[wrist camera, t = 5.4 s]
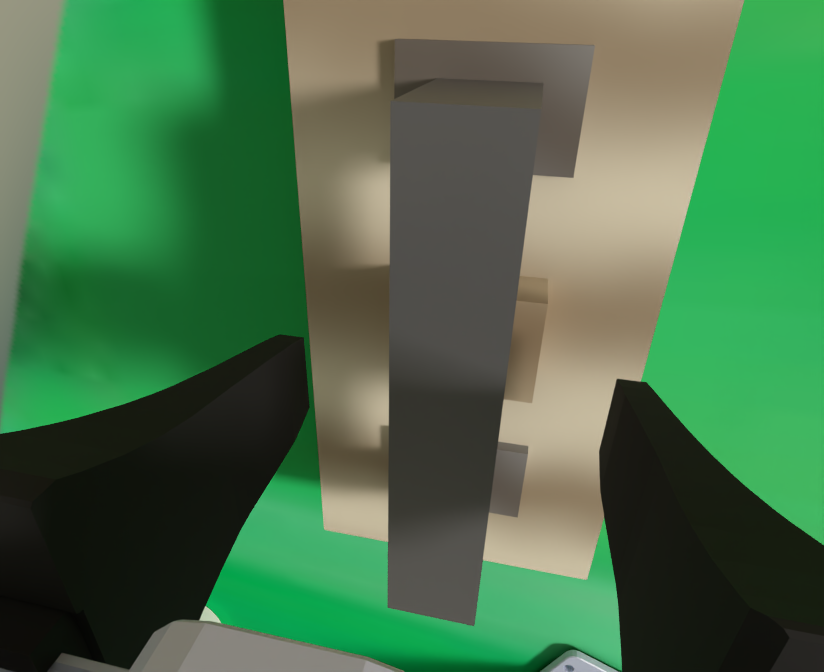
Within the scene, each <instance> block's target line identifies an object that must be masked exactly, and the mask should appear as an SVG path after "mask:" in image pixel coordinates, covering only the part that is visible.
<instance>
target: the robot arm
mask: <svg viewBox="0 0 824 672" xmlns="http://www.w3.org/2000/svg"><path fill="white" fill-rule="evenodd" d="M308 409H309V397H308V385H307V373H306V361H305V349H304V338H302V337H295V336H287V335H277V336H275V337H272V338H270V339H268V340H266V341H264V342H262V343H260V344H258V345H256V346H254V347H252V348H250V349H248V350H246V351H244V352H242V353H240V354H238V355H236V356H234V357H232V358H230V359H228V360H226V361H225V362H223V363H221V364H219V365H217V366H215V367H213V368H211V369H209V370H206V371H204V372H202V373H200V374H198V375H195V376H193V377H191V378H189V379H187V380H185V381H182V382H180V383H178V384H176V385H174V386H171V387H169V388H167V389H164V390H162V391H159V392H157V393H154V394H151V395H149V396H146V397H143V398H140V399H138V400H135V401H132V402H129V403H126V404H123V405H120V406H117V407H113V408H110V409H106V410H103V411H100V412H96V413H93V414H89V415H86V416H83V417H79V418H75V419H71V420H67V421H63V422H58V423H54V424H50V425H45V426H40V427H36V428H31V429H26V430H21V431H15V432H10V433H3V434H0V672H404V671H403V670H400V669H397V668H395V667H392V666H390V665H387V664H385V663H382V662H380V661H377V660H374V659H372V658H369V657H366V656H361V655H357V654H352V653H348V652H344V651H339V650H335V649H331V648H326V647H322V646H318V645H313V644H309V643H304V642H300V641H296V640H291V639H287V638H283V637H278V636H274V635H270V634H265V633H261V632H256V631H252V630H248V629H243V628H239V627H235V626H230V625H226V624H222V623H217V622H213V621H201V620H200V617H201V615H202V613H203V610H204V608H205V606H206V603H207V601H208V599H209V597H210V594H211V592H212V590H213V588H214V585H215V583H216V581H217V579H218V577H219V574H220V572H221V570H222V568H223V566H224V563H225V561H226V559H227V557H228V555H229V553H230V551H231V549H232V547H233V545H234V543H235V541H236V539H237V536H238V534H239V532H240V530H241V528H242V527H243V525H244V523H245V521H246V520H247V518H248V516H249V514H250V513H251V511H252V509H253V508H254V506H255V505H256V503H257V501H258V500H259V498H260V497H261V495H262V493H263V492H264V490H265V489H266V487H267V485H268V484H269V482H270V481H271V479H272V477H273V476H274V474H275V473H276V471H277V469H278V468H279V466H280V465H281V463H282V461H283V460H284V458H285V456H286V455H287V453H288V452H289V450H290V448H291V447H292V445H293V443H294V441H295V439H296V437H297V435H298V433H299V431H300V428H301V426H302V424H303V421H304V419H305V416H306V414H307V412H308ZM599 472H600V493H601V499H602V506H603V512H604V518H605V524H606V529H607V535H608V541H609V547H610V553H611V558H612V564H613V570H614V576H615V582H616V589H617V597H618V606H619V622H620V638H621V656H622V672H824V545H822V544H821V543H819V542H818V541H817V540H815V539H814V538H812V537H811V536H809V535H808V534H807V533H805V532H804V531H802V530H801V529H800V528H798V527H797V526H795V525H794V524H792V523H791V522H790V521H788V520H787V519H786V518H784V517H783V516H782V515H780V514H779V513H778V512H776V511H775V510H774V509H773V508H771V507H770V506H769V505H768V504H766V503H765V502H764V501H763V500H762V499H760V498H759V497H758V496H757V495H755V494H754V493H753V492H752V491H751V490H749V489H748V488H747V487H746V486H745V485H743V484H742V483H741V482H740V481H739V480H738V479H737V478H736V477H734V476H733V475H732V474H731V473H730V472H729V471H728V470H727V469H726V468H725V467H724V466H723V465H722V464H721V463H720V462H719V461H718V460H717V459H716V458H714V457H713V456H712V455H711V454H710V453H709V452H708V451H707V450H706V449H705V447H704V446H703V445H702V444H701V443H700V442H699V441H698V440H697V439H696V438H695V437H694V436H693V435H692V434H691V433H690V432H689V431H688V429H687V428H686V427H685V426H684V425H683V424H682V423H681V422H680V420H679V419H678V418H677V417H676V416H675V415H674V414H673V412H672V411H671V410H670V409H669V408H668V407H667V406H666V404H665V403H664V402H663V401H662V400H661V398H660V397H659V396H658V395H657V394H656V393H655V391H654V390H653V389H652V388H651V387H650V386H649V385H648V384H647V382H640V381H632V380H624V379H617V380H616V384H615V388H614V392H613V396H612V401H611V405H610V409H609V413H608V417H607V421H606V425H605V429H604V433H603V437H602V441H601V445H600V449H599ZM540 672H618V671H616V670H614V669H613V668H611V667H609V666H607V665H605V664H603V663H601V662H599V661H597V660H595V659H593V658H591V657H590V656H588V655H586V654H584V653H582V652H580V651H577V650H568V651H566V652H565V653H564V654H562V655H561V656H560V657H558V658H557V659H556V660H554V661H553V662H552V663H551V664H549V665H548V666H547V667H545V668H544V669H543V670H541V671H540Z"/></svg>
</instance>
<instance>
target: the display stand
mask: <svg viewBox="0 0 824 672" xmlns="http://www.w3.org/2000/svg"><path fill="white" fill-rule="evenodd" d="M283 3H284V16H285V28H286V41H287V54H288V67H289V80H290V93H291V106H292V119H293V132H294V145H295V158H296V171H297V184H298V197H299V210H300V223H301V235H302V248H303V261H304V274H305V287H306V300H307V313H308V326H309V339H310V352H311V365H312V378H313V391H314V404H315V417H316V430H317V443H318V455H319V468H320V481H321V494H322V507H323V520H324V530H328V531H334V532H339V533H344V534H349V535H355V536H360V537H365V538H370V539H375V540H381V541H386V542H388V464H389V284H390V104H391V101H392V100H394V99H396V98H398V97H400V96H402V95H404V94H406V93H408V92H410V91H412V90H414V89H416V88H418V87H420V86H423V85H425V84H427V83H429V82H431V81H433V80H435V79H437V78H445V79H467V80H489V81H510V82H532V83H544V84H543V96H542V108H541V116H540V124H539V132H538V139H537V147H536V155H535V162H534V170H533V178H532V185H531V193H530V201H529V208H528V216H527V224H526V232H525V239H524V247H523V255H522V262H521V270H520V278H519V285H518V293H517V301H516V308H515V316H514V324H513V331H512V339H511V347H510V355H509V362H508V370H507V378H506V385H505V393H504V401H503V408H502V416H501V424H500V431H499V439H498V447H497V454H496V462H495V470H494V478H493V485H492V493H491V501H490V508H489V516H488V524H487V531H486V539H485V547H484V554H483V560H485V561H490V562H496V563H501V564H506V565H511V566H517V567H522V568H527V569H532V570H537V571H543V572H548V573H553V574H558V575H564V576H569V577H574V578H579V579H584V580H587V578H588V574H589V570H590V567H591V563H592V559H593V556H594V552H595V548H596V545H597V541H598V537H599V534H600V530H601V526H602V522H603V519H604V512H603V506H602V499H601V493H600V472H599V449H600V445H601V441H602V437H603V433H604V429H605V425H606V421H607V417H608V413H609V409H610V405H611V401H612V396H613V392H614V388H615V384H616V380H617V379H624V380H632V381H640V382H641V379H642V375H643V371H644V368H645V364H646V360H647V357H648V353H649V349H650V346H651V342H652V338H653V335H654V331H655V327H656V323H657V320H658V316H659V312H660V309H661V305H662V301H663V298H664V294H665V290H666V287H667V283H668V279H669V276H670V272H671V268H672V264H673V261H674V257H675V253H676V250H677V246H678V242H679V239H680V235H681V231H682V228H683V224H684V220H685V217H686V213H687V209H688V206H689V202H690V198H691V194H692V191H693V187H694V183H695V180H696V176H697V172H698V169H699V165H700V161H701V158H702V154H703V150H704V147H705V143H706V139H707V136H708V132H709V128H710V124H711V121H712V117H713V113H714V110H715V106H716V102H717V99H718V95H719V91H720V88H721V84H722V80H723V77H724V73H725V69H726V65H727V62H728V58H729V54H730V51H731V47H732V43H733V40H734V36H735V32H736V29H737V25H738V21H739V18H740V14H741V10H742V7H743V3H744V0H283Z"/></svg>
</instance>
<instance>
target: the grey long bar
mask: <svg viewBox="0 0 824 672" xmlns="http://www.w3.org/2000/svg"><path fill="white" fill-rule="evenodd" d="M543 84H544V83H532V82H510V81H489V80H467V79H445V78H437V79H435V80H433V81H431V82H429V83H427V84H425V85H423V86H420V87H418V88H416V89H414V90H412V91H410V92H408V93H406V94H404V95H402V96H400V97H398V98H396V99H394V100H392V101H391V104H390V284H389V464H388V608H392V609H397V610H402V611H406V612H411V613H416V614H420V615H425V616H430V617H434V618H439V619H444V620H448V621H453V622H458V623H463V624H467V625H472V626H474V624H475V616H476V608H477V601H478V593H479V585H480V577H481V570H482V562H483V554H484V547H485V539H486V531H487V524H488V516H489V508H490V501H491V493H492V485H493V478H494V470H495V462H496V454H497V447H498V439H499V431H500V424H501V416H502V408H503V401H504V393H505V385H506V378H507V370H508V362H509V355H510V347H511V339H512V331H513V324H514V316H515V308H516V301H517V293H518V285H519V278H520V270H521V262H522V255H523V247H524V239H525V232H526V224H527V216H528V208H529V201H530V193H531V185H532V178H533V170H534V162H535V155H536V147H537V139H538V132H539V124H540V116H541V108H542V96H543Z"/></svg>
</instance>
